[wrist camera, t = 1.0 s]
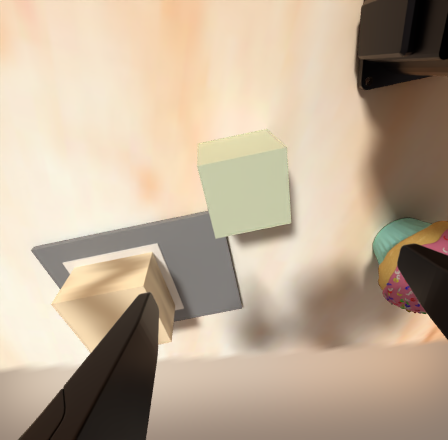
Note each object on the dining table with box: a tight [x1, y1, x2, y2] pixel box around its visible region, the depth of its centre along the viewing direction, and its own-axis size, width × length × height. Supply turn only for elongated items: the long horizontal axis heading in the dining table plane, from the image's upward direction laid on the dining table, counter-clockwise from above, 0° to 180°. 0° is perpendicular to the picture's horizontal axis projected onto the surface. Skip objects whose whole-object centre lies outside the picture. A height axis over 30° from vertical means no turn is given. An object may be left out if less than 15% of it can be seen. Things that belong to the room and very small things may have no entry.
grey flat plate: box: [31, 211, 242, 321], centre depth 24 cm, size 16×12×1 cm
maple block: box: [51, 252, 175, 353], centre depth 22 cm, size 7×7×4 cm
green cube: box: [197, 129, 291, 239], centre depth 17 cm, size 5×5×5 cm
